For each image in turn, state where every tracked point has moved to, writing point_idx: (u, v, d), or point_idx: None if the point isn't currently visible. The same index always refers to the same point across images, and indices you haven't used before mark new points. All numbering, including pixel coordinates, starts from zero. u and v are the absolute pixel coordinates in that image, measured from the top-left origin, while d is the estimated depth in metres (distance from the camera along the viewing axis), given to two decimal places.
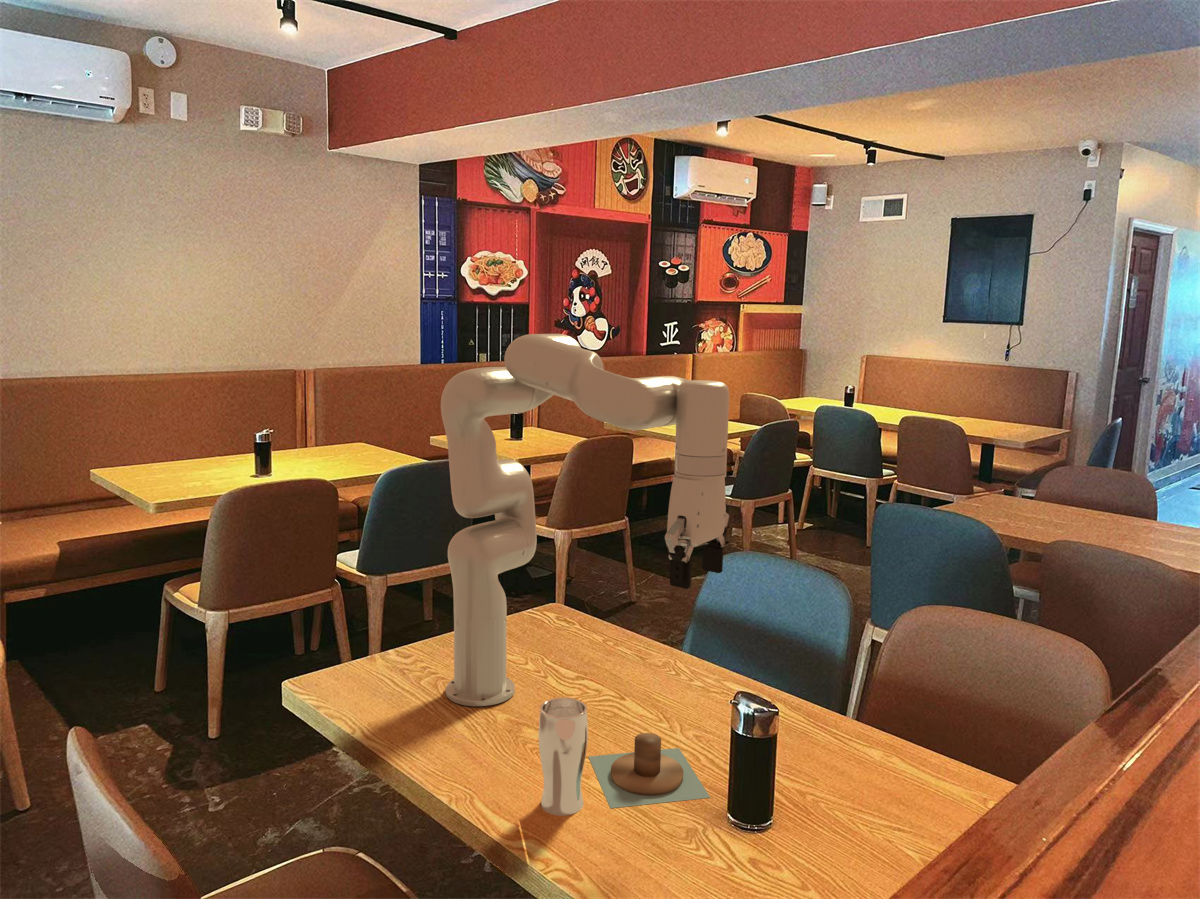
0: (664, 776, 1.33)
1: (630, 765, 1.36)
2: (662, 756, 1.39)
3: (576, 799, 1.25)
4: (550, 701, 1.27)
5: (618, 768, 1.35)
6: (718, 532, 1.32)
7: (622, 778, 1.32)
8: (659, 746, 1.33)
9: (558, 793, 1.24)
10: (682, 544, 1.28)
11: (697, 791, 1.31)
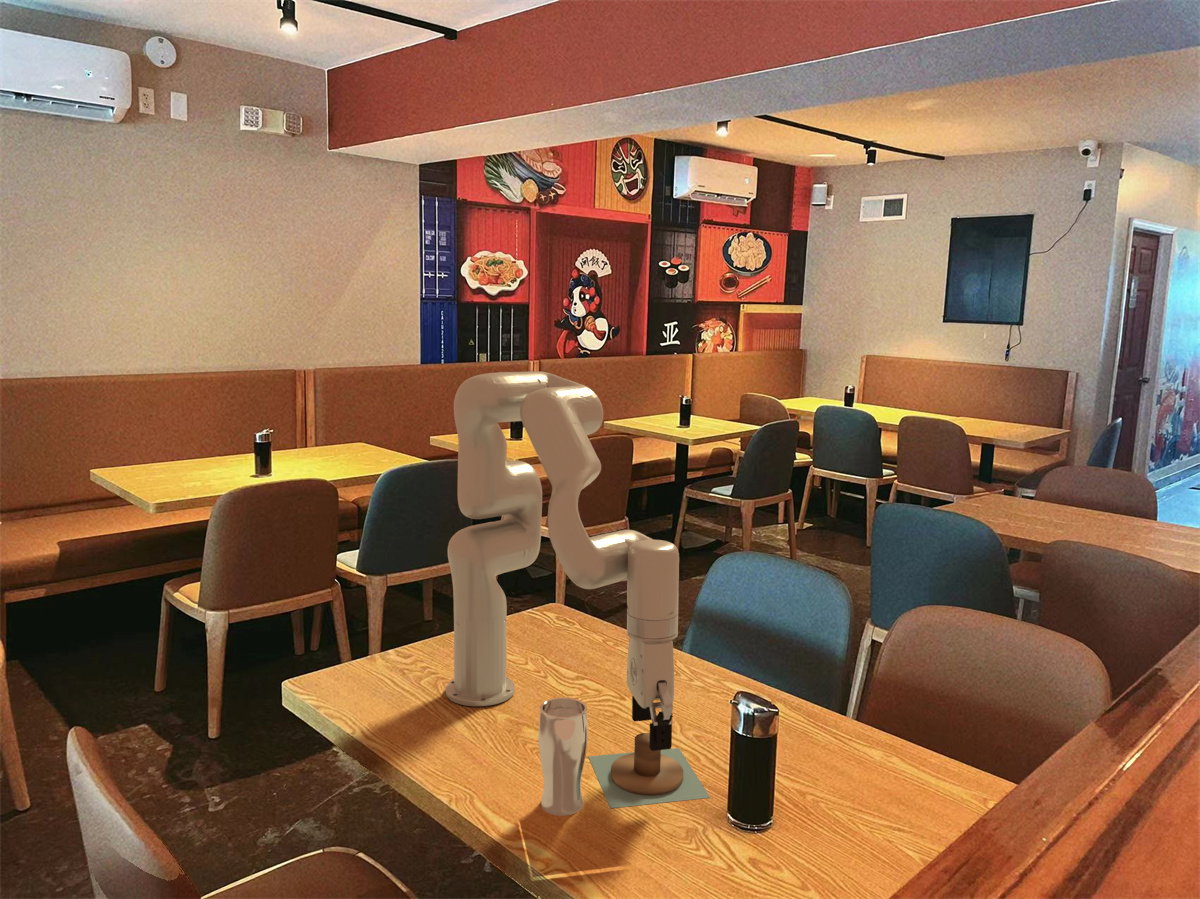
0: (664, 776, 1.33)
1: (630, 765, 1.36)
2: (662, 756, 1.39)
3: (576, 799, 1.25)
4: (550, 701, 1.27)
5: (618, 768, 1.35)
6: None
7: (622, 778, 1.32)
8: None
9: (558, 793, 1.24)
10: (658, 707, 1.29)
11: (697, 791, 1.31)
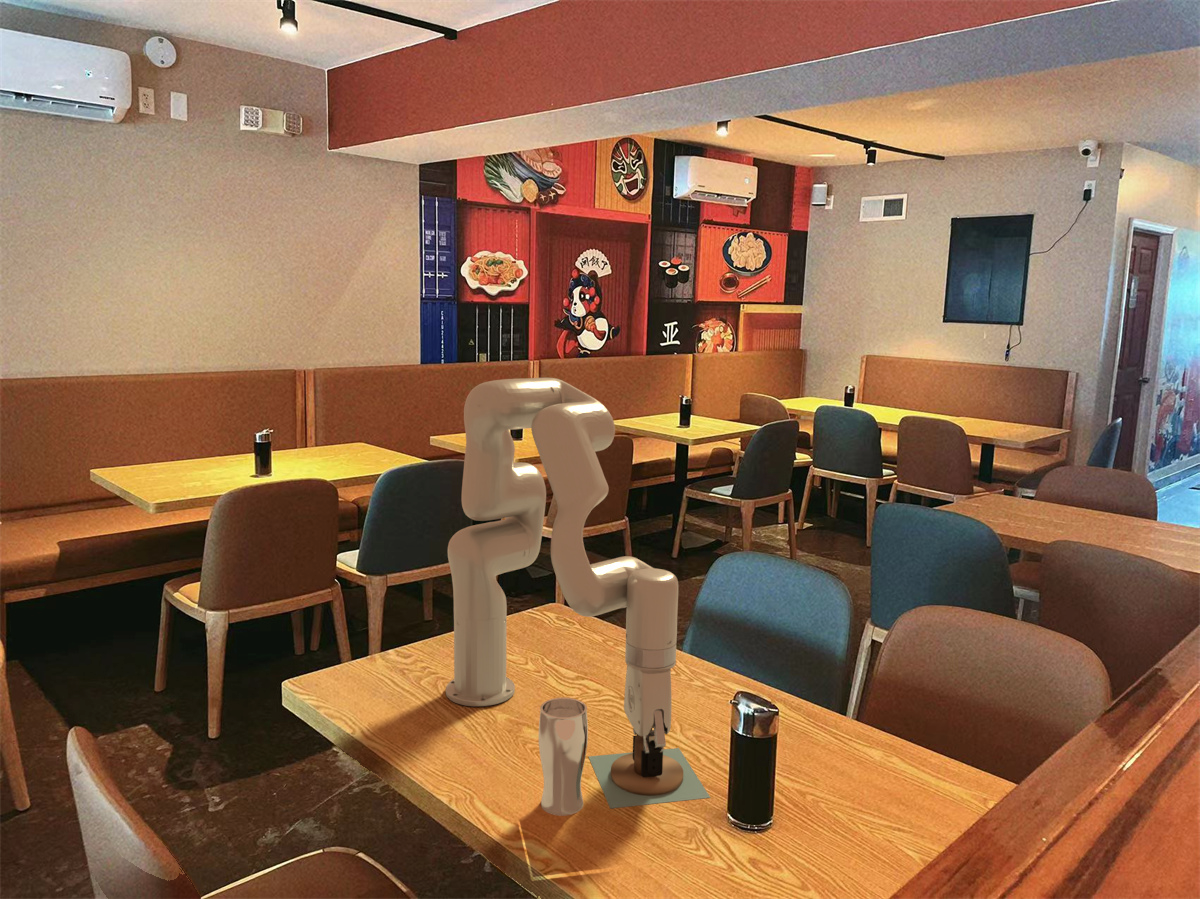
0: (664, 776, 1.33)
1: (630, 765, 1.36)
2: None
3: (576, 799, 1.25)
4: (550, 701, 1.27)
5: (618, 768, 1.35)
6: None
7: (622, 778, 1.32)
8: None
9: (558, 793, 1.24)
10: None
11: (697, 791, 1.31)
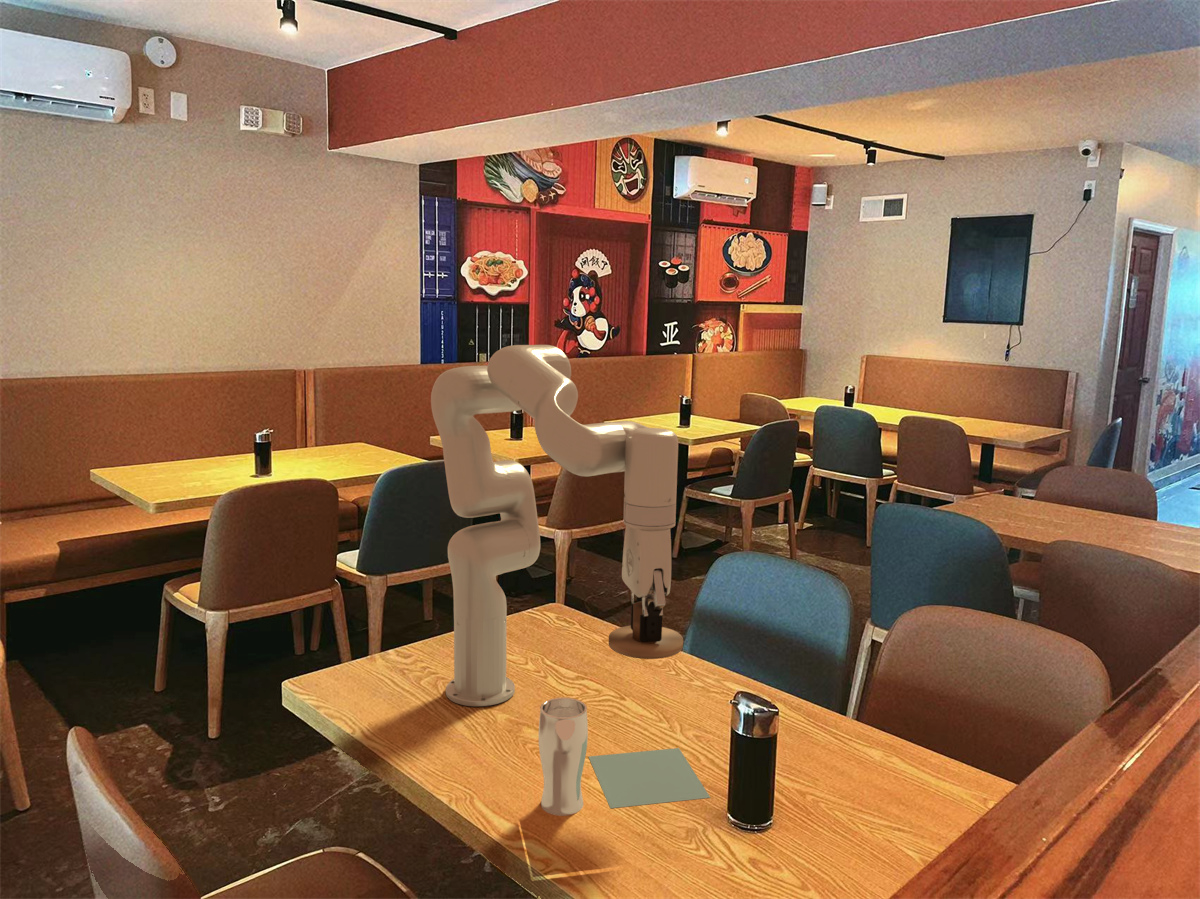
0: (664, 642, 1.29)
1: (628, 634, 1.32)
2: None
3: (576, 799, 1.25)
4: (550, 701, 1.27)
5: (616, 636, 1.31)
6: None
7: (621, 644, 1.29)
8: None
9: (558, 793, 1.24)
10: None
11: (697, 791, 1.31)
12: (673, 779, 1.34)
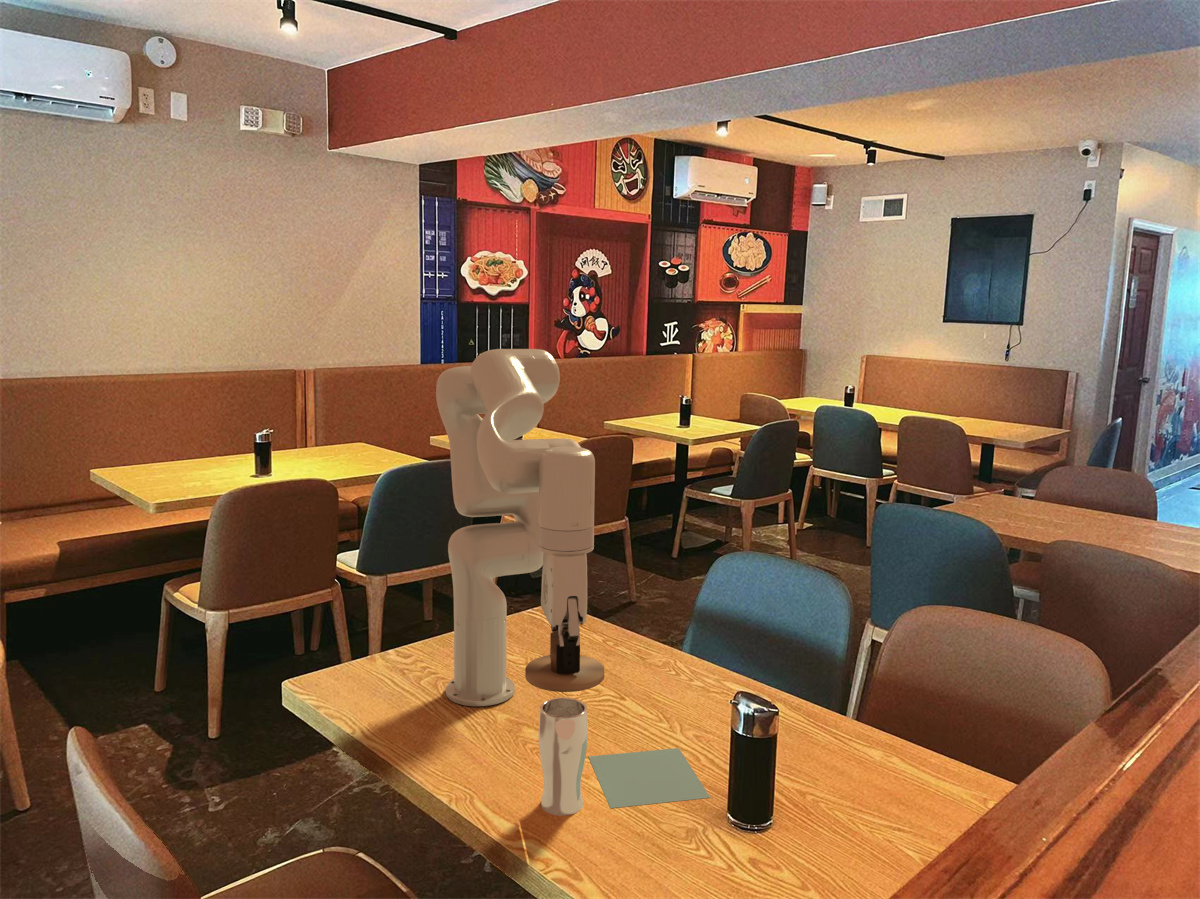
0: (582, 674, 1.22)
1: (547, 664, 1.25)
2: (584, 657, 1.28)
3: (576, 799, 1.25)
4: (550, 701, 1.27)
5: (534, 667, 1.24)
6: None
7: (536, 675, 1.21)
8: None
9: (558, 793, 1.24)
10: None
11: (697, 791, 1.31)
12: (673, 779, 1.34)
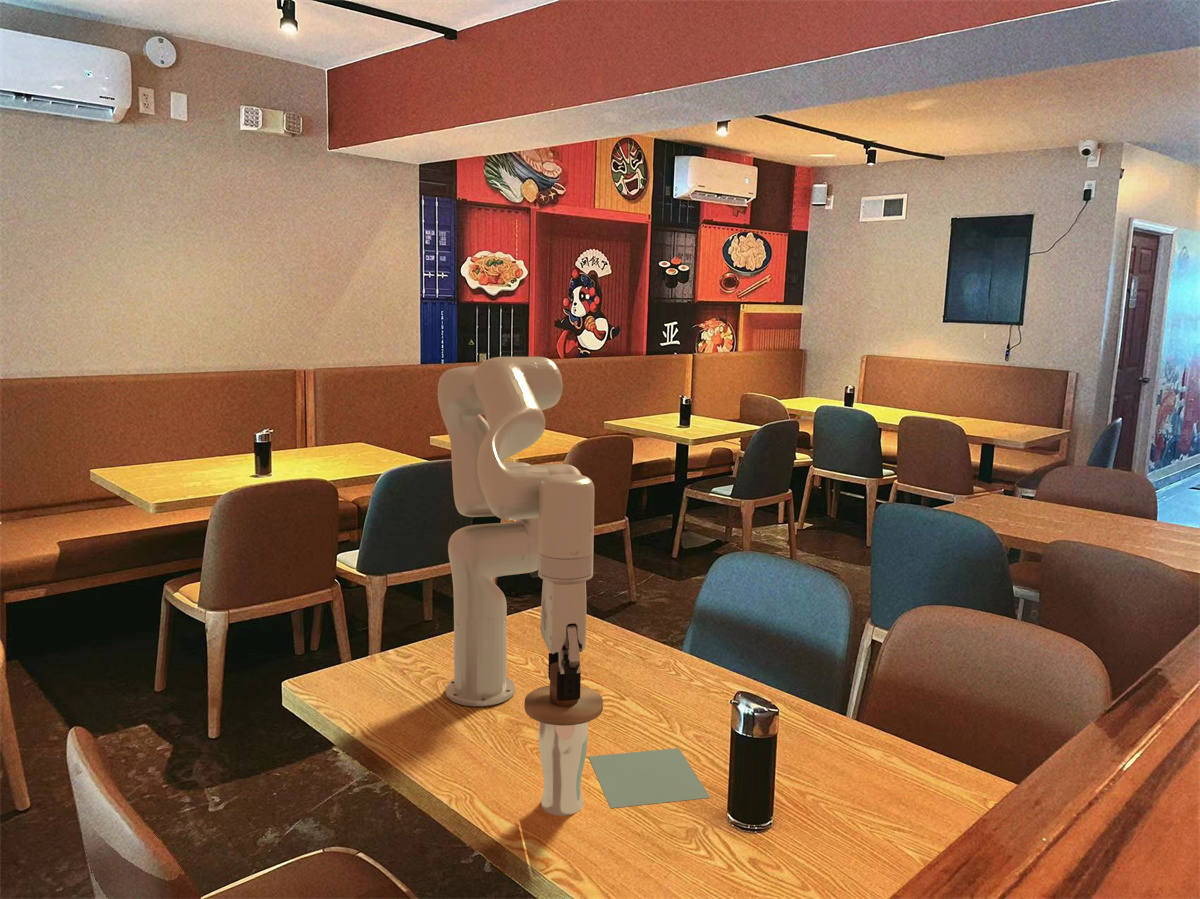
0: (581, 706, 1.23)
1: (546, 696, 1.26)
2: (582, 688, 1.29)
3: (576, 799, 1.25)
4: None
5: (533, 698, 1.25)
6: None
7: (535, 708, 1.22)
8: None
9: (558, 793, 1.24)
10: (567, 654, 1.20)
11: (697, 791, 1.31)
12: (673, 779, 1.34)
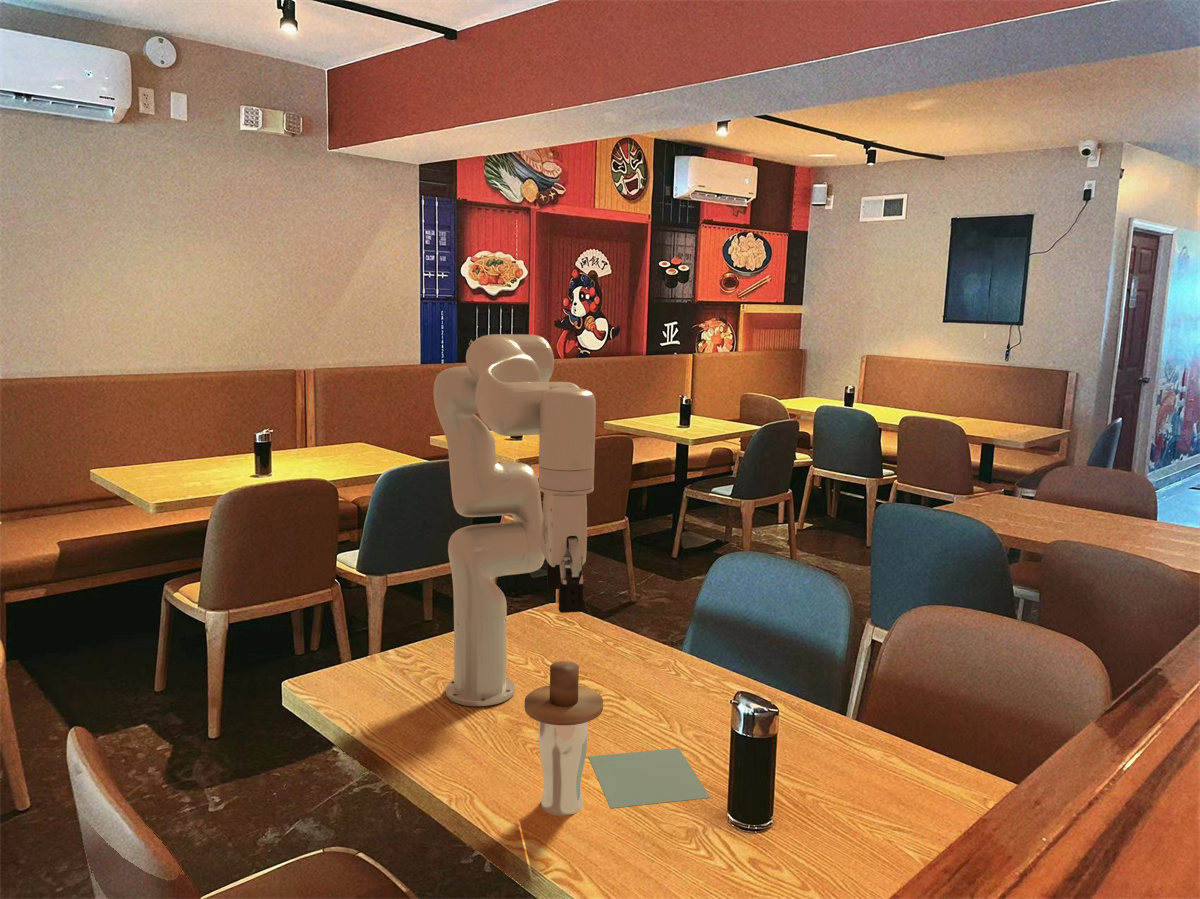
0: (581, 706, 1.23)
1: (546, 696, 1.26)
2: (582, 688, 1.29)
3: (576, 799, 1.25)
4: None
5: (533, 698, 1.25)
6: None
7: (535, 708, 1.22)
8: (576, 674, 1.23)
9: (558, 793, 1.24)
10: (569, 566, 1.19)
11: (697, 791, 1.31)
12: (673, 779, 1.34)
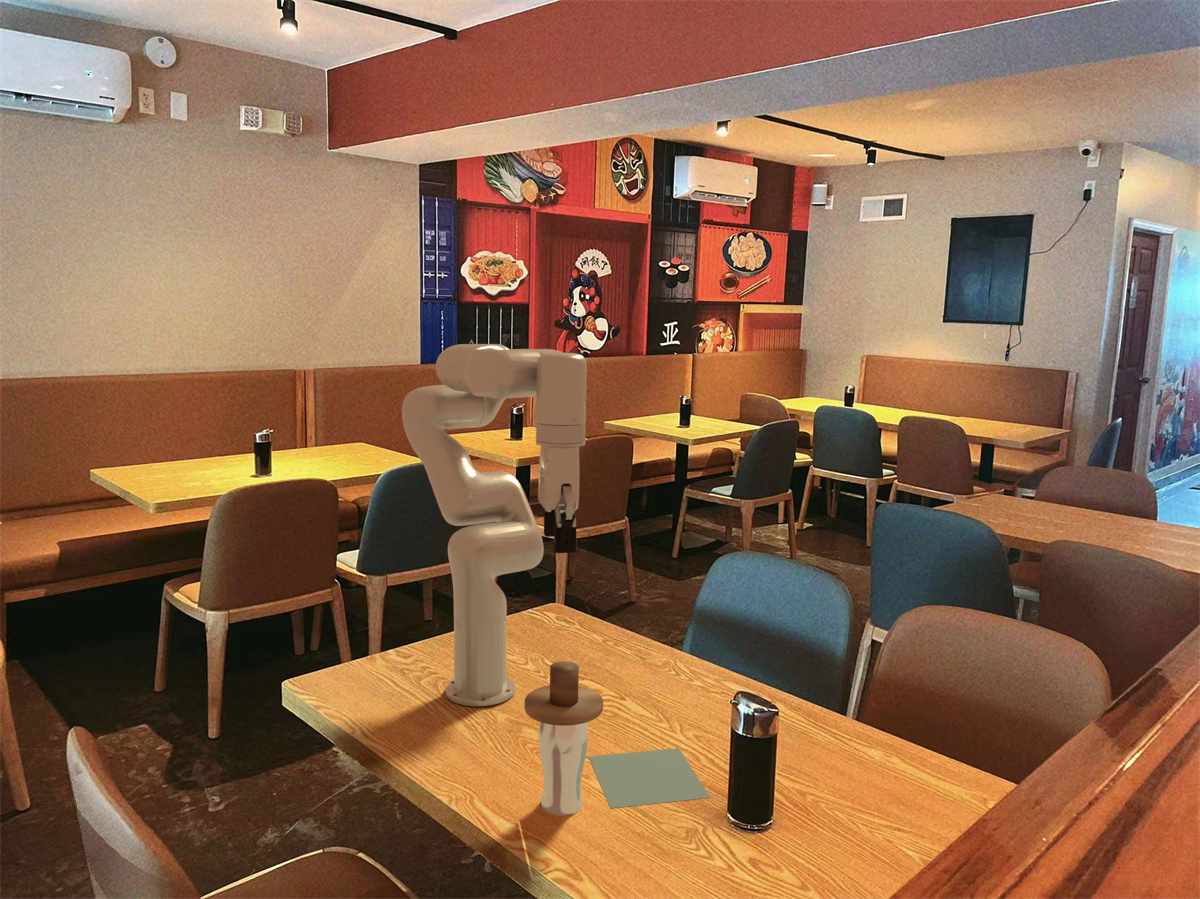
0: (581, 706, 1.23)
1: (546, 696, 1.26)
2: (582, 688, 1.29)
3: (576, 799, 1.25)
4: None
5: (533, 698, 1.25)
6: None
7: (535, 708, 1.22)
8: (576, 674, 1.23)
9: (558, 793, 1.24)
10: (563, 511, 1.33)
11: (697, 791, 1.31)
12: (673, 779, 1.34)
